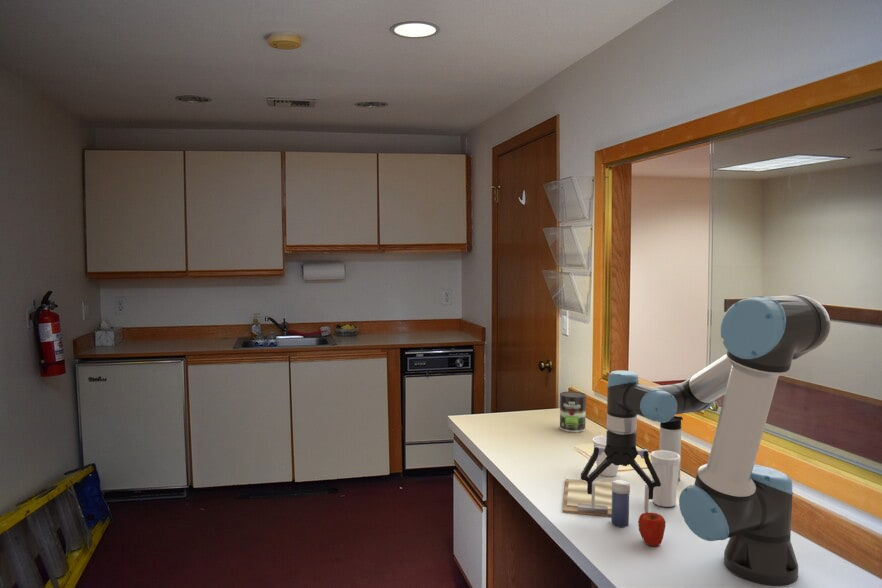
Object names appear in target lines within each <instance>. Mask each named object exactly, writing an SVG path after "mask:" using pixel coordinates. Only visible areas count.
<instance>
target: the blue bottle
mask: <svg viewBox="0 0 882 588" xmlns="http://www.w3.org/2000/svg"><path fill="white" fill-rule="evenodd" d="M611 482H612V515H611V516H610V517H611V521H610V522H611V525H612V526H614V527H618V528H626V527H627V528H628V526H629V521H630V518H629V517H630V492H631V483H630V482H629V481H626V480H622V479H615V480H612V481H611Z"/></svg>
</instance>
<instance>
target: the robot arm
mask: <svg viewBox="0 0 882 588" xmlns="http://www.w3.org/2000/svg"><path fill="white" fill-rule="evenodd" d="M719 329H720V333H719V334H720V338H722V339H723V341H722V343H723V346H724V348H725V349H726V350H727V351H726V354H724V355H722V356H721V357H720V358H718V359H717V360H714V361H713V362H712V363H711V364H709V365H707V366H706V367H704V368H703V369H701V370H700V371H698V372H696V373H695V374H693V375H692V376H691V377H689V378H687V379H686V380H685V381H683V382H680V383H672V384H666V385H658V386H657V385H656V386H647V385H645V384H641V383H639V382H640V381H639V375H638V374H637V373H636V372H635V371H630V370H621V369H620V370H612V371H611V372H609V374H608V378H607V385H606V389H607V390H606V391H607V392H606V393H607V398H606V402H607V403H606V409H607V410H606V428H607V429H606V435H605V436H606V446H605V448H604V447H599V446H598V445H595V446H594V445H593V452H592V453H591V456H590V457H589V459H588V461H587V463H586V464H585V467H584V468H583V470H582V471H581V473H580V480H585V481H587V483H588V484H587V493H588V494H592V502H591V505H592V508H594V506H595V481H596V479H597V478H598V477H599V476H601V475H600V474H601V473H602V472H603V471H604V470H605V469H606V468H607V467H608V466H610V465H611V464H614V465H619V466H622V467H628V466H629V465H630V466H631V468H632V469H634V471H635V472H636V473H637V474H638V476H639V477H640V478H641V480H643V481H644V483H645V484H644V502H643V503H644V506H643V507H644V508H643V509H644V513H647V512H649V500H651V501H653V489H654V487H656V486H658V487H660V486H661V483H660V480H659V478H658V476H657V474H656V471H655V469H654V467H653V465H652V460H651V458H650V457H649V456H650V455H649V450H648V449H647V448H646V447H644V448H643V449H637V432H636V431H637V429H638V428H637V426H638V425H637V422H638V417H637V416H638V415H639V416H640V417H644V418H646V419H647V420H650V421H652V422H658V423H660V422H662V423H665V422H668V421H670V419H672V418H673V417H674V416H676V415H683V414H689V413H698V412H701V411H705V410H708V409H710V408H711V407H713V404H714V402H715V401H716V400H717V399H719V398H721V397H723V400H722V405H721V409H720V413H719V417H718V421H717V424H716V428H715V433H714V437H713V440H712V445H711V449H710V453H709V455H708V461H707V463H705V464H702V465H700V467H698V469H697V474H696V476H695V481H694V483H693V485H691V484H690V485H687V486H686V487H685V488H683V489H682V490H681V492H680V495H679V497H678V503H679V504H678V505H679V511H680V514H681V517H682V518H683V519H684V523H685V524H686V526H687V527H688V528H689V530H690V531H691V532H692V533H693V534H694V535H695V536H696V537H698V538H699V539H702V540H704V541H707V542H716V541H725V540H727V539H728V541H727V544H726V546H725V549H724V552H723V563H724V565H725V567H726V568H727V569H728V570H729V571H730V572H731V573H733V574H734V575H736V576H738V577H741V578H743V579H745V580H748V581H750V582H754V583H758V584H762V585H769V586H783V585H784V586H785V585H789V584H792V583H794V582H796V581H797V580H798V578H799V563H798V561H797V557H796V554H795V550H794V548H793V544H792V542H791V541H792V540H791V535H792V534H791V533H792V511H793V495H794V492H793V481H792V478H790V476H789V475H788V474H786V473H784V472H783V471H781V470H778V469H775V468H772V467H769V466H768V467H767V466H763V465H760V464H756V459H757V456H758V452H759V448H760V445H761V440H762V438H763V434H764V430H765V427H766V424H767V419H768V416H769V412H770V410H771V404H772V401H773V397H774V394H775V391H776V387H777V383H778V380H779V377H780V376H782V375H785V374H787V373H789V372H790V370H791V369H790V368H791V365H792V362H793V361H795V360H797V359H800V358H801V357H802V356H804V355H806V354H808V353H810V352H812V351H814V350H815V349H816V348H820V346H821V345H822V344H824V343H825V342H826V340H827V338H828V336H829V334H830V330H831V320H830V315H829V313H828V311H827V310H826V308H825V307H824V306H823V305H822V304H821V303H820V302H819V301H818V300H815V299H814V298H812V297H809V296H806V295H802V294H801V295H800V294H791V295H789V294H788V295H773V296H772V295H771V296H764V295H759V296H753V297H749V298H745V299H741V300H739V301H736V302H735V303H733V304H732V305H731V306H730V307H729V308H728V309H727V310H726V311H725V313H724V314H723V316H722V319H721V323H720V328H719ZM602 452H605V454H606V456H607V457H606V458H605V459H604V461H603V462H602V463H601V464H600V465H599V466H598V467H597V466H596V468H595V469H593V471H592V472H591V473H590V471H591V470H592V468H593V466H594V465H595V463H596V460H597V458H598V455H601V454H602ZM638 455H639V456H640V458H641V459H643V460H644V462H645V465H646V467H647V470H648V471H649V473H650V475H651V478H650V477H649V476H648V475H647V473H646V472H645V471H644V470H643V468H642V467H641V466H640V465H639V464H638V463H637V461H636V458H637V456H638ZM652 477H653V479H654V480H653V481H652Z"/></svg>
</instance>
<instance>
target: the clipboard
mask: <svg viewBox="0 0 882 588" xmlns="http://www.w3.org/2000/svg"><path fill="white" fill-rule="evenodd" d="M564 481H565V482H564V492H563V503H562V504H563V505H562V513H567V514H578V515H579V514H580V515H588V516H589V515H591V516H601V517H602V516H603V517H611V515H612V481H603V480H595V506H594V508H592V505H591V502H592V494H588V493H587V484H588V483H587V481H585V480H581V479H577V478H576V479H574V478H565V480H564Z"/></svg>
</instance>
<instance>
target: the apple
mask: <svg viewBox="0 0 882 588" xmlns="http://www.w3.org/2000/svg"><path fill="white" fill-rule="evenodd" d="M637 522H638V524H637V525H638V530H639V534H640V536H641V538H642V540H643V542H644V543H646V544H647V545H649V546H652V547H658V546H660V545H661V544H662V542H663V539H664V536H665V530H666V523H667V521H666V519H665V517H663V516H662V515H660V514H659V513H655V512H651V511H650V512H649V511H648V512H647V513H645V512H644V513H643V512H642V513H641V514H640V515H639V518H638V521H637Z"/></svg>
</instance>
